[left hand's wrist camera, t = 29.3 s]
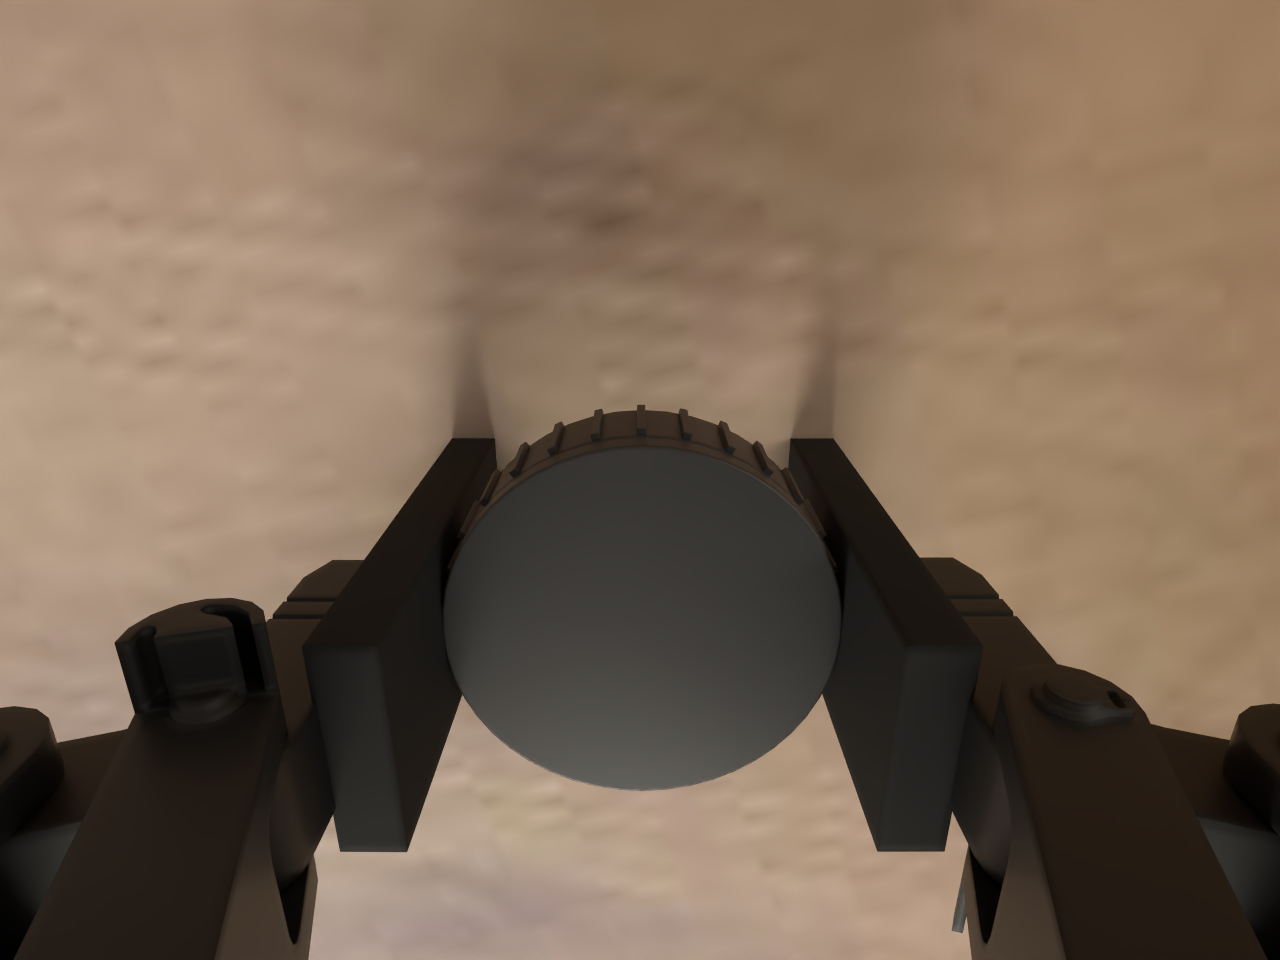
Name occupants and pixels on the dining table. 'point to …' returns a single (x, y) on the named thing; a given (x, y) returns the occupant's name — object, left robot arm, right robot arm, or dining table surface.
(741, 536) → the lid
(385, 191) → the dining table surface
